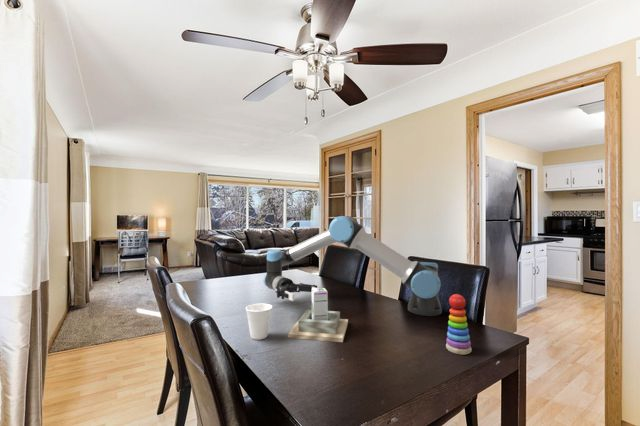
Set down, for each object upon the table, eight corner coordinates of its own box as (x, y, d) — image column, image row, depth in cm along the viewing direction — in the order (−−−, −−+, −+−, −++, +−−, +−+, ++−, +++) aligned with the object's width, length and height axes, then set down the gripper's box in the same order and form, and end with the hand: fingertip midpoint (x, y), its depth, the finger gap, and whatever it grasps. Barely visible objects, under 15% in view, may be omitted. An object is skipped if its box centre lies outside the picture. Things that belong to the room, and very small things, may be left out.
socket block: (347, 322, 131) (347, 309, 131) (342, 342, 111) (342, 326, 111) (301, 319, 134) (301, 307, 134) (288, 338, 115) (288, 323, 115)
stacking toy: (466, 345, 108) (466, 292, 108) (475, 356, 100) (475, 298, 100) (442, 344, 109) (443, 291, 109) (450, 355, 101) (450, 297, 101)
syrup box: (328, 328, 120) (328, 290, 120) (313, 329, 119) (313, 291, 119) (325, 323, 126) (325, 287, 126) (310, 324, 125) (311, 287, 125)
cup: (277, 333, 119) (277, 304, 119) (264, 344, 109) (264, 312, 109) (254, 330, 122) (254, 302, 122) (239, 340, 112) (240, 309, 113)
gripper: (305, 289, 155) (331, 299, 137) (258, 297, 141) (280, 309, 123) (305, 274, 155) (331, 282, 137) (258, 280, 141) (280, 290, 123)
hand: (307, 295), depth 130 cm, fingers open, 13 cm apart
